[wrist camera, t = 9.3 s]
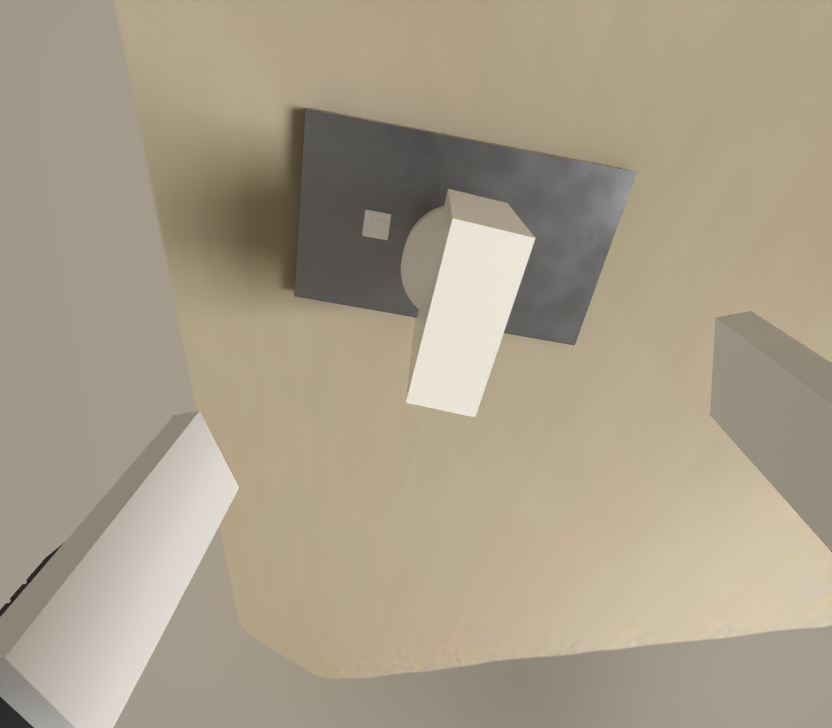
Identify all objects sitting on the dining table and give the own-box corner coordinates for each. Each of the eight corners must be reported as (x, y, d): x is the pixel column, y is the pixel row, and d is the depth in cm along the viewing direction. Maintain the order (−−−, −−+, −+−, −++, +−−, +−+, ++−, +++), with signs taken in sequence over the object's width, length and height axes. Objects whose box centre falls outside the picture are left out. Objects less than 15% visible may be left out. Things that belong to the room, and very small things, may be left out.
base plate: (310, 108, 35) (283, 107, 29) (629, 170, 36) (669, 181, 30) (298, 290, 42) (274, 320, 35) (570, 338, 43) (593, 376, 36)
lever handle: (420, 175, 30) (410, 208, 19) (527, 201, 31) (576, 247, 20) (388, 320, 35) (367, 411, 24) (483, 342, 35) (503, 440, 24)
